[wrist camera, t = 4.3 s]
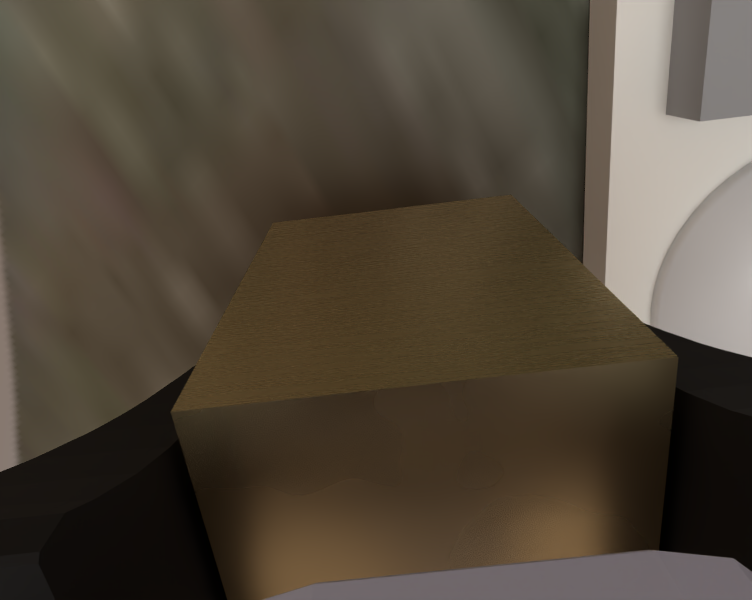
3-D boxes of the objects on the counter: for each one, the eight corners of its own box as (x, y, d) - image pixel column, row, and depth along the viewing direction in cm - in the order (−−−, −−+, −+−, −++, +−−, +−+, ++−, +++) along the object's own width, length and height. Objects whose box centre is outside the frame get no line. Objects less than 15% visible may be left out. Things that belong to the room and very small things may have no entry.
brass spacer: (515, 398, 14) (644, 692, 8) (310, 420, 14) (266, 726, 8) (511, 194, 12) (678, 356, 6) (273, 222, 12) (170, 411, 6)
